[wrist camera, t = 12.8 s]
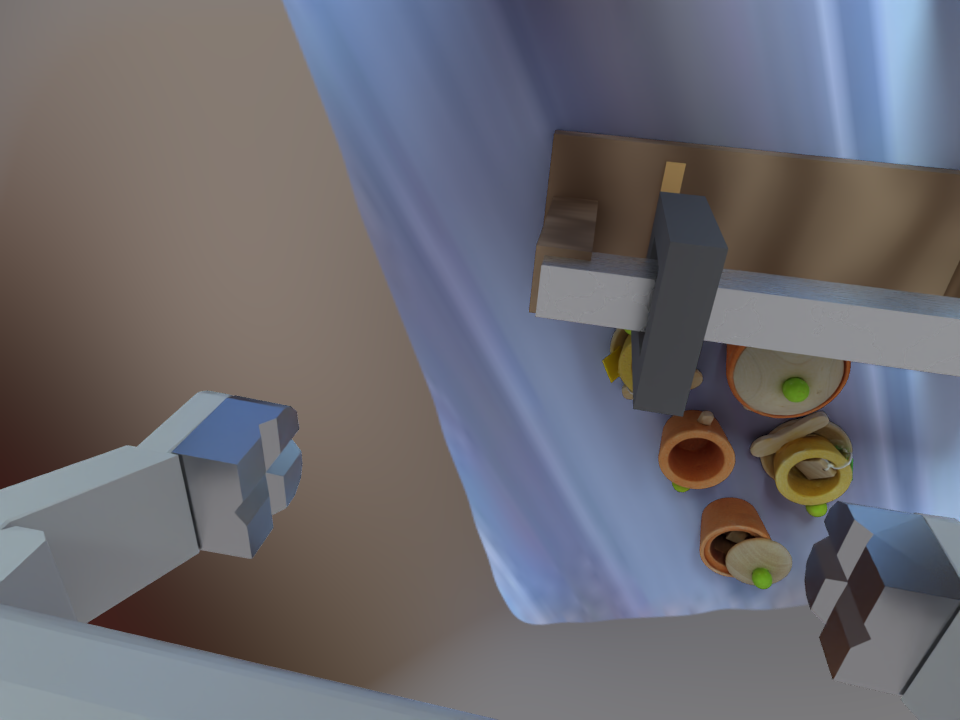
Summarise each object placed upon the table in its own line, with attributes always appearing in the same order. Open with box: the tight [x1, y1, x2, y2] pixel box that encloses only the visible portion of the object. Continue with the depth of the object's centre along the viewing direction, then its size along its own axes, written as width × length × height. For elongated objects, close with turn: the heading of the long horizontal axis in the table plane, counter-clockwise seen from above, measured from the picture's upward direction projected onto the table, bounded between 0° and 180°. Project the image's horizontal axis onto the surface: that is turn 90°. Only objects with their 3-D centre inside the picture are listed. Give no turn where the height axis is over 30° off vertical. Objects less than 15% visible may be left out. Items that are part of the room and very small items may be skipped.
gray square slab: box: [631, 191, 728, 417], centre depth 34 cm, size 2×9×9 cm, turn 176°
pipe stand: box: [529, 130, 960, 377], centre depth 37 cm, size 30×12×14 cm, turn 86°
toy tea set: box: [602, 328, 853, 589], centre depth 47 cm, size 26×16×10 cm, turn 27°
